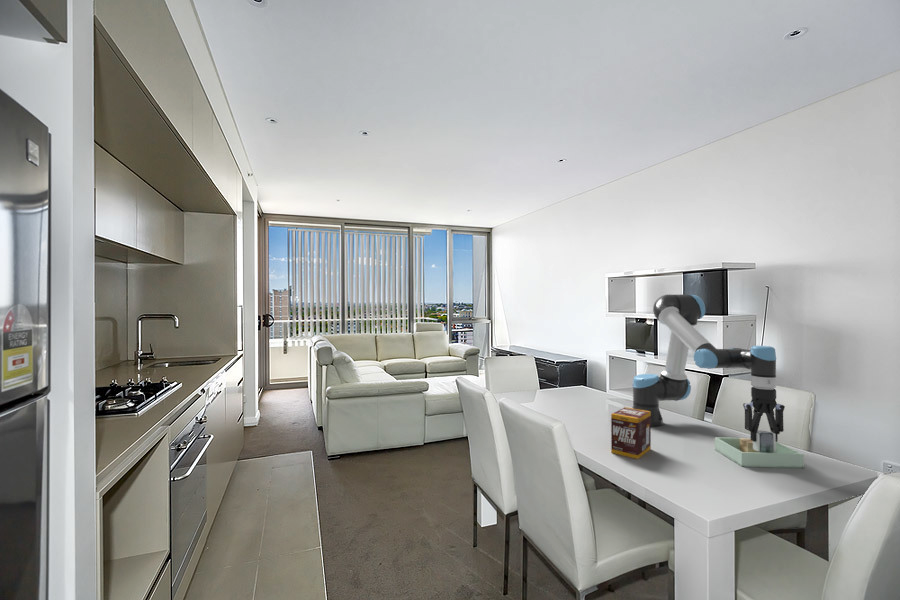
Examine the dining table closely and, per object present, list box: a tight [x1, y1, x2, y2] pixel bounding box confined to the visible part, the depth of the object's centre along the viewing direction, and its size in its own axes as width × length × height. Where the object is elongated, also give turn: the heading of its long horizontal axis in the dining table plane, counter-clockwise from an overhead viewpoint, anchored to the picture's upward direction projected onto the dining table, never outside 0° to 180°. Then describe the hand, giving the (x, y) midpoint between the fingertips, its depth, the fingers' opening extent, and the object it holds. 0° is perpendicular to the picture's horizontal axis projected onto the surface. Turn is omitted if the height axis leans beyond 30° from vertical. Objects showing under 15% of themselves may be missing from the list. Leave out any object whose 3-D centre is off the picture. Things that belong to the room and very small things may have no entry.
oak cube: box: [739, 437, 761, 453], centre depth 164 cm, size 5×5×5 cm
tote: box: [714, 436, 805, 469], centre depth 161 cm, size 17×21×5 cm
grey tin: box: [757, 430, 773, 453], centre depth 156 cm, size 5×5×7 cm
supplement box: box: [610, 407, 652, 460], centre depth 169 cm, size 10×15×16 cm
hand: (764, 450), depth 156 cm, fingers closed on grey tin, 5 cm apart
